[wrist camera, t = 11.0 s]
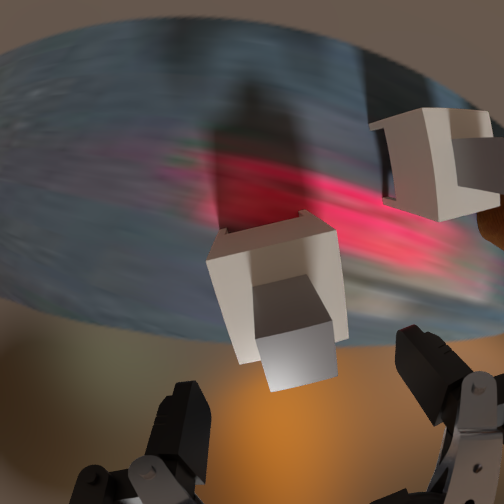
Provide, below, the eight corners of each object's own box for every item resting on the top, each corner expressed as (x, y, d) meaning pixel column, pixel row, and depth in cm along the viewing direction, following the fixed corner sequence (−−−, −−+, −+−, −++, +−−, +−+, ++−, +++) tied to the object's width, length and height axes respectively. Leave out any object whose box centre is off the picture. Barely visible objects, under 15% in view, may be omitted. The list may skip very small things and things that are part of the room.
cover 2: (430, 120, 20) (537, 106, 7) (441, 192, 22) (548, 219, 9) (368, 123, 20) (477, 93, 7) (383, 204, 22) (494, 243, 9)
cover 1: (305, 209, 22) (377, 259, 9) (319, 288, 24) (377, 391, 11) (219, 229, 22) (187, 304, 10) (241, 306, 24) (238, 424, 12)
